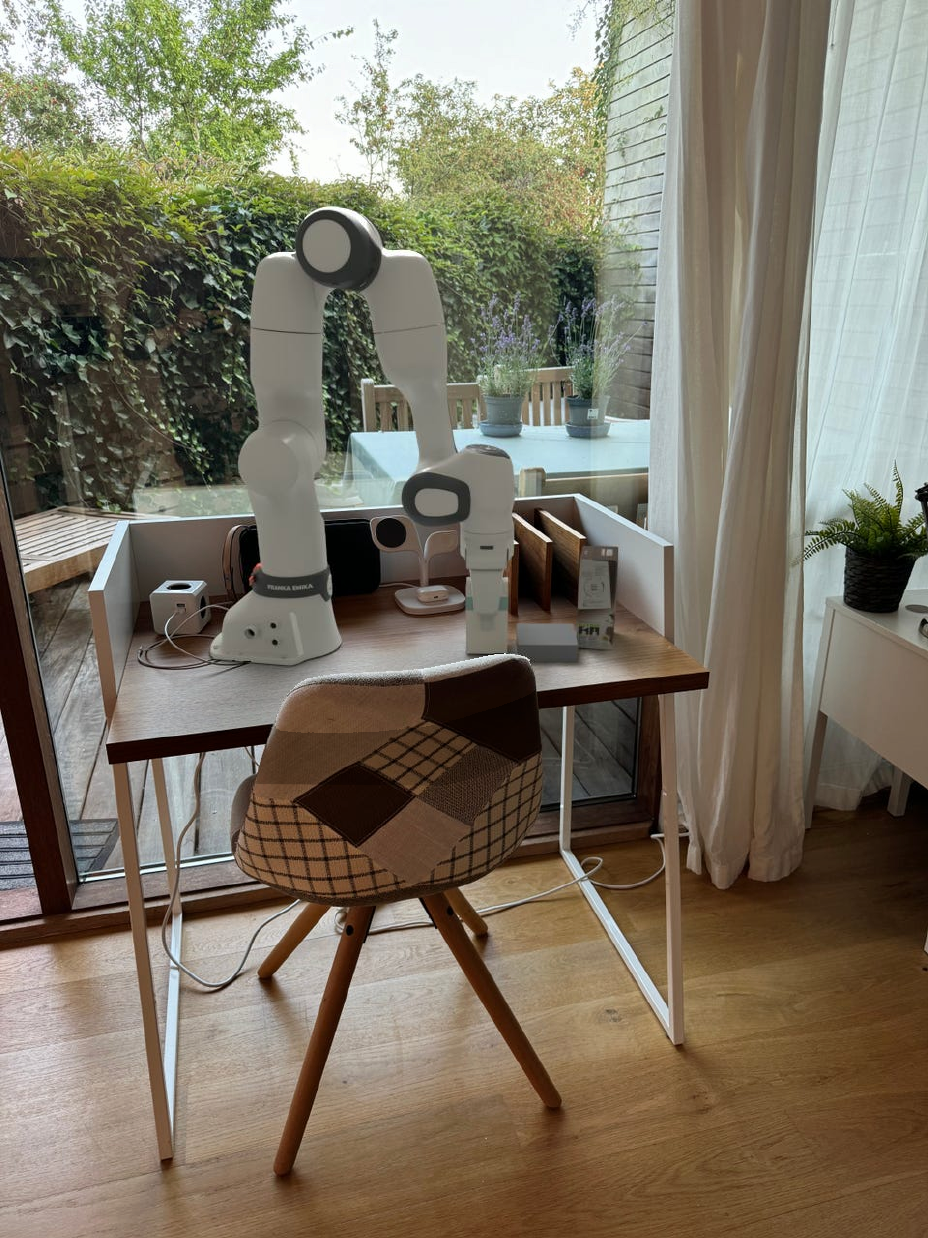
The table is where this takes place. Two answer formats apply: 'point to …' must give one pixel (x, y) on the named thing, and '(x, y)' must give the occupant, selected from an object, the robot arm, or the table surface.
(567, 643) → the podium
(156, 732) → the table surface
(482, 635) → the carton
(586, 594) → the coffee box
